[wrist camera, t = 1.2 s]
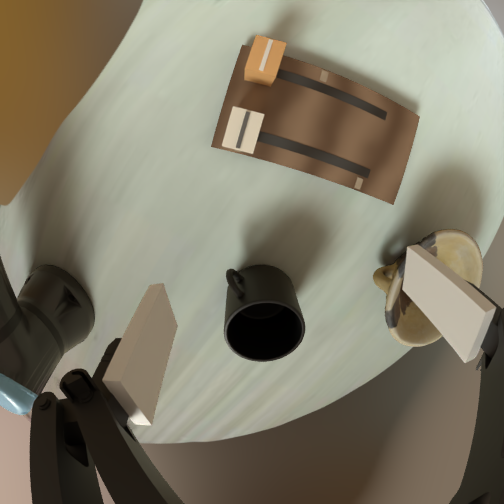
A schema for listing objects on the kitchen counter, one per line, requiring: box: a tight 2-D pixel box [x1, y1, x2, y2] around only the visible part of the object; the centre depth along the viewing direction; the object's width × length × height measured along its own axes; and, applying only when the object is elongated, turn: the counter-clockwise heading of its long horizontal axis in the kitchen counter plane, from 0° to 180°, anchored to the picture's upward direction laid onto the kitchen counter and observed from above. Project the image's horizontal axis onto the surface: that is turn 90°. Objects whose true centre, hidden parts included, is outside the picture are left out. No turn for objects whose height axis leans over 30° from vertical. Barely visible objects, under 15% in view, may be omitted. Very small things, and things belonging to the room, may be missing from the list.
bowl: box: [373, 229, 483, 346], centre depth 34 cm, size 18×18×10 cm
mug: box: [224, 265, 305, 362], centre depth 34 cm, size 9×12×9 cm
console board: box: [211, 45, 420, 205], centre depth 29 cm, size 24×13×2 cm, turn 74°
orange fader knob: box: [244, 35, 287, 87], centre depth 23 cm, size 3×4×5 cm
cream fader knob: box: [222, 106, 264, 154], centre depth 26 cm, size 3×4×5 cm
